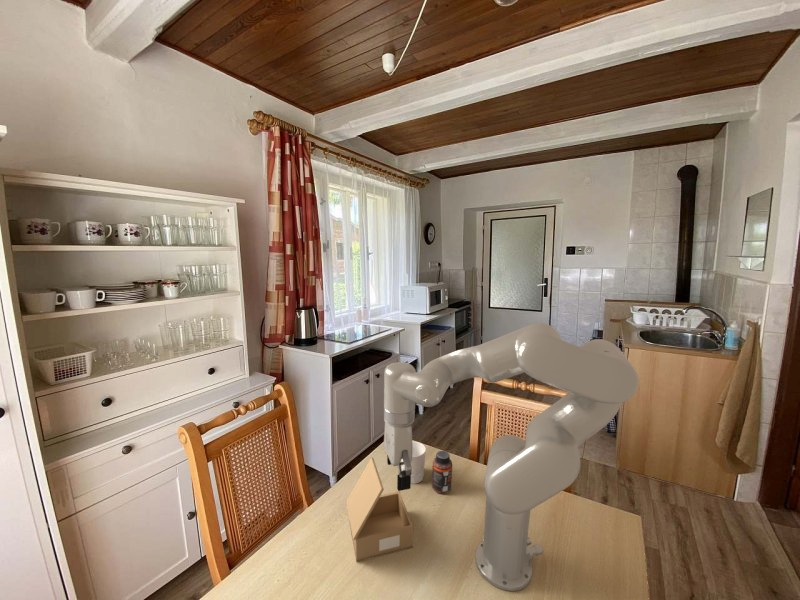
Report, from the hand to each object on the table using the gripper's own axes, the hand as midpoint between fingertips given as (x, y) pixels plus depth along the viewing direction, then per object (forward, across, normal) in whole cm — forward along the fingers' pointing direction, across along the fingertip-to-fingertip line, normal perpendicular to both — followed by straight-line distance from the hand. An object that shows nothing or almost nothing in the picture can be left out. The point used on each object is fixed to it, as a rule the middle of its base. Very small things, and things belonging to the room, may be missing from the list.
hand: (398, 475), depth 86 cm
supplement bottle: (+16, -11, +17) cm, 26 cm away
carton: (+16, 0, -5) cm, 17 cm away
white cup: (+16, -18, +10) cm, 26 cm away
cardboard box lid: (+4, 0, -9) cm, 10 cm away
